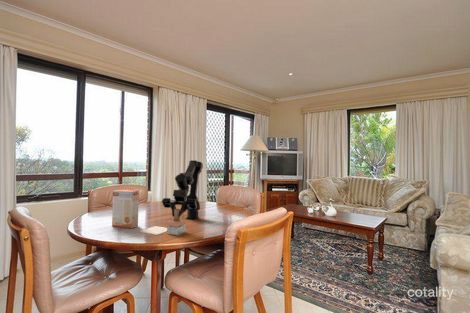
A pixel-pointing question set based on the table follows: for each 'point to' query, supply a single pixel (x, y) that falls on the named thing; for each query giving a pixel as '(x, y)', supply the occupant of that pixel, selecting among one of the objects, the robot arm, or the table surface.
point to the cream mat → (155, 230)
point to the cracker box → (125, 208)
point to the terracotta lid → (176, 219)
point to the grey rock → (176, 230)
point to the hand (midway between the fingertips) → (175, 216)
